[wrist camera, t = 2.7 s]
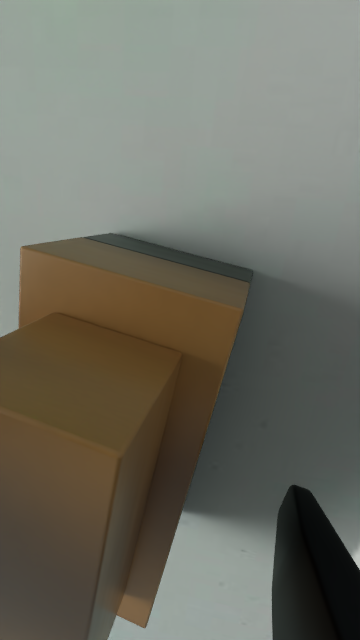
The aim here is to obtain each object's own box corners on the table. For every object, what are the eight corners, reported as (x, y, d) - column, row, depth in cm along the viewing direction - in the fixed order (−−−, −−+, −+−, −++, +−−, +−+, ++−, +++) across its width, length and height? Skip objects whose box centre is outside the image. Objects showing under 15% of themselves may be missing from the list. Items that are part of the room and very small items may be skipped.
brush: (179, 512, 11) (97, 791, 6) (80, 471, 12) (-77, 689, 7) (254, 270, 8) (222, 398, 3) (110, 232, 9) (-155, 271, 3)
